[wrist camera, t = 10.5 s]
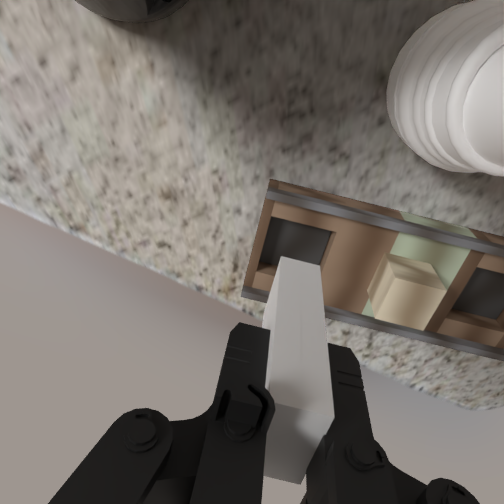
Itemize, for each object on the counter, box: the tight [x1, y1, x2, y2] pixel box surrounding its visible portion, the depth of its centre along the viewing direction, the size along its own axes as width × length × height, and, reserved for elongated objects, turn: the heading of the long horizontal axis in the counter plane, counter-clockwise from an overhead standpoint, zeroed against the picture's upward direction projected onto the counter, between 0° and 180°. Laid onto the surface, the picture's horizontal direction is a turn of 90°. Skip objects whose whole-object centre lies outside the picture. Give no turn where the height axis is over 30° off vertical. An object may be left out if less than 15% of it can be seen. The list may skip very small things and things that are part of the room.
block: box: [367, 252, 447, 331], centre depth 39 cm, size 5×5×5 cm
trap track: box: [241, 179, 504, 361], centre depth 42 cm, size 31×13×4 cm, turn 77°
